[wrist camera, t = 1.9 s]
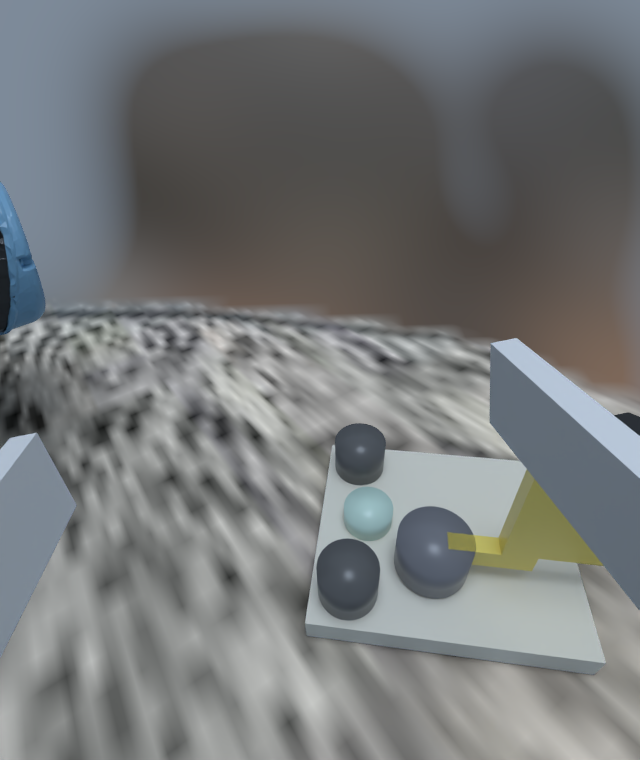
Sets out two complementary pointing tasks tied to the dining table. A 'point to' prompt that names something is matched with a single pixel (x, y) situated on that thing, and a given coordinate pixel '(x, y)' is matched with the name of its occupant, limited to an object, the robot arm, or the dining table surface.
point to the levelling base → (483, 583)
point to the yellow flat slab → (484, 543)
